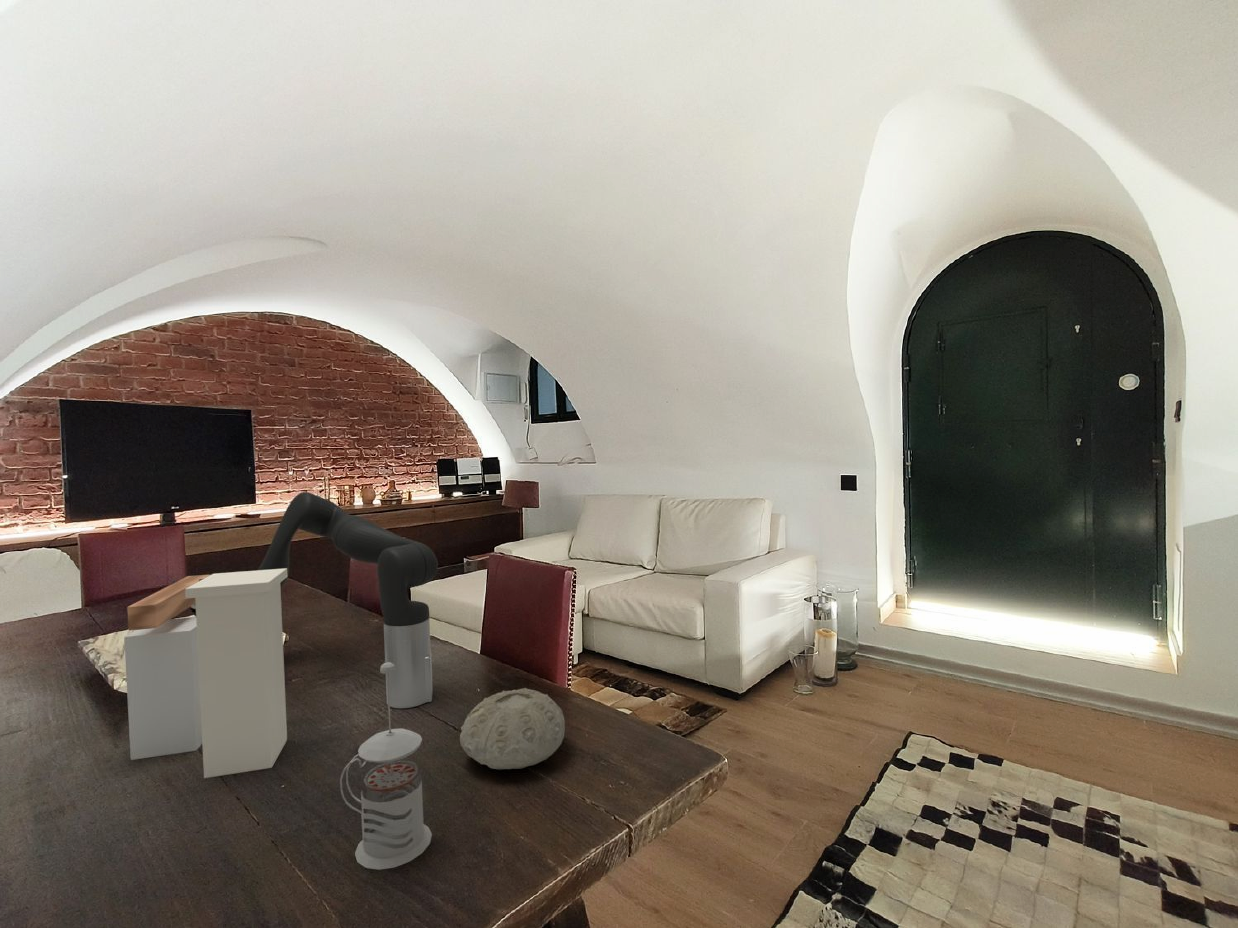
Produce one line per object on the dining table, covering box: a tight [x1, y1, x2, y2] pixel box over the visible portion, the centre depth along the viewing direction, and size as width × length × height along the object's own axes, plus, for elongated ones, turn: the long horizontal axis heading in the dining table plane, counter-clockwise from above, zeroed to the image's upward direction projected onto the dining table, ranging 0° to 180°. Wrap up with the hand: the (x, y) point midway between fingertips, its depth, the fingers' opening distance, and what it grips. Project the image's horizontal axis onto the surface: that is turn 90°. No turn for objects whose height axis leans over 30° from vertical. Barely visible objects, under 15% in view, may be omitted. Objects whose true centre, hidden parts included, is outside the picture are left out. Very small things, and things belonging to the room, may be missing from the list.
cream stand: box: [185, 568, 289, 779], centre depth 103 cm, size 12×12×32 cm
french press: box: [339, 662, 433, 870], centre depth 80 cm, size 10×12×25 cm
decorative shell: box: [459, 687, 566, 770], centre depth 103 cm, size 18×18×10 cm
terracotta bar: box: [126, 574, 211, 631], centre depth 111 cm, size 4×24×4 cm, turn 16°
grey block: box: [123, 616, 202, 761], centre depth 110 cm, size 10×10×22 cm
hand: (187, 584), depth 117 cm, fingers closed on terracotta bar, 4 cm apart
